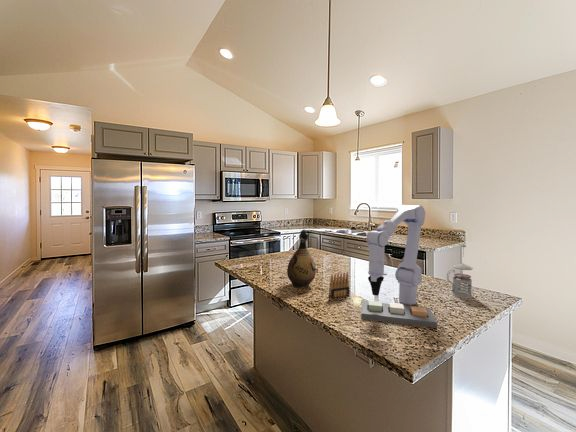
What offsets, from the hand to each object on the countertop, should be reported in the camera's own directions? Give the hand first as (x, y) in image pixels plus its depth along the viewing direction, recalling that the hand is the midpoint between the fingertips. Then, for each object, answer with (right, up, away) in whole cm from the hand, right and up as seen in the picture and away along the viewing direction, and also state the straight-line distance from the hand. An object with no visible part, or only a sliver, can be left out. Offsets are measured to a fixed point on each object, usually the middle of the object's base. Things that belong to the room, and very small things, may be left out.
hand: (375, 294), depth 112 cm
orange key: (+15, -8, -4) cm, 18 cm away
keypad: (+8, -9, -2) cm, 12 cm away
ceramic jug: (-28, -6, +40) cm, 49 cm away
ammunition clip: (-11, -8, +21) cm, 24 cm away
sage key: (0, -7, +1) cm, 7 cm away
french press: (+50, -8, +26) cm, 56 cm away
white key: (+8, -8, -2) cm, 11 cm away
